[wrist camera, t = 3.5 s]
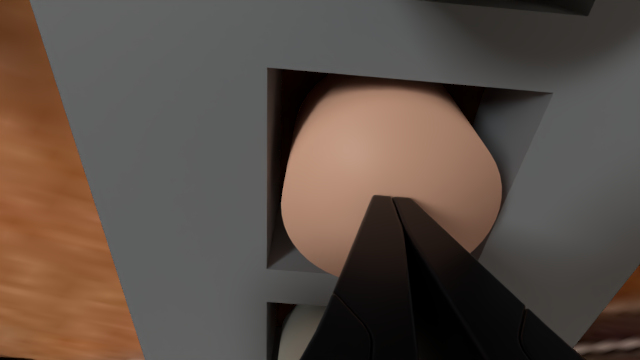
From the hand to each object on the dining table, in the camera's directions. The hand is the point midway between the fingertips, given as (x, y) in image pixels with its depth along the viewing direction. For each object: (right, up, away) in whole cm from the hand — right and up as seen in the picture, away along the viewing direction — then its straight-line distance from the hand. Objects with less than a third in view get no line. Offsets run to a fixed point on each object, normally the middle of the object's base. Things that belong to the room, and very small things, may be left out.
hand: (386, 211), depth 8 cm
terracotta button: (0, +2, +3) cm, 3 cm away
